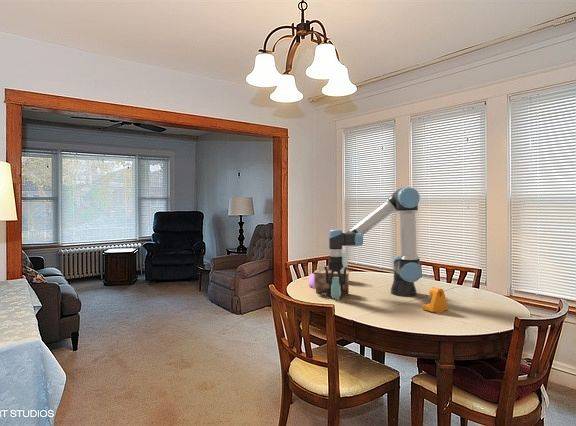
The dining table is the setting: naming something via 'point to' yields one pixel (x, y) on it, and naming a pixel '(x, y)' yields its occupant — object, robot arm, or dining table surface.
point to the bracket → (436, 301)
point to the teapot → (312, 281)
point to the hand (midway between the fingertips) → (335, 295)
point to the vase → (344, 259)
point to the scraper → (335, 287)
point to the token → (325, 293)
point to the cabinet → (323, 286)
